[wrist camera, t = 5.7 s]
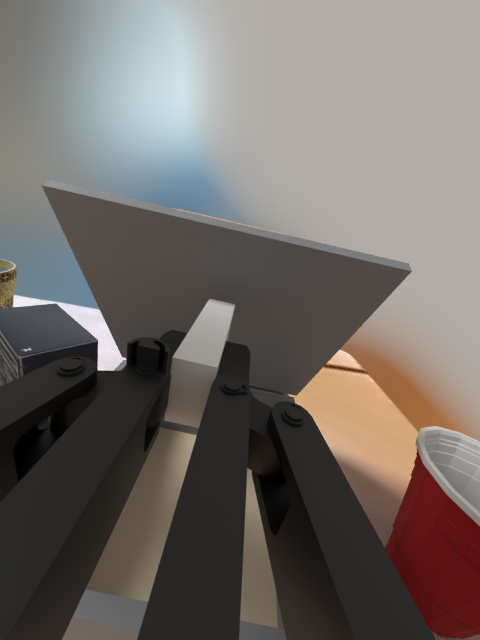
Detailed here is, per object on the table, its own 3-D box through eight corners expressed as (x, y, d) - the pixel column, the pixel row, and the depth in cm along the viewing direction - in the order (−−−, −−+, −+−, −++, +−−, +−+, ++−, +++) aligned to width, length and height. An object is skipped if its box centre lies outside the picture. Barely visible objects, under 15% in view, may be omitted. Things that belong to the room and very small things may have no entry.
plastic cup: (526, 623, 19) (655, 534, 15) (488, 768, 13) (687, 691, 9) (391, 491, 27) (448, 408, 23) (329, 544, 21) (391, 445, 17)
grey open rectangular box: (-46, 661, 13) (-92, 584, 10) (121, 418, 29) (124, 359, 26) (293, 727, 13) (350, 672, 10) (273, 451, 29) (293, 397, 26)
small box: (102, 420, 28) (102, 338, 24) (29, 455, 23) (14, 359, 19) (63, 373, 33) (58, 300, 29) (-4, 393, 28) (-20, 308, 24)
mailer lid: (41, 185, 12) (54, 176, 12) (122, 357, 25) (126, 348, 26) (411, 271, 12) (406, 258, 13) (296, 395, 26) (296, 386, 26)
